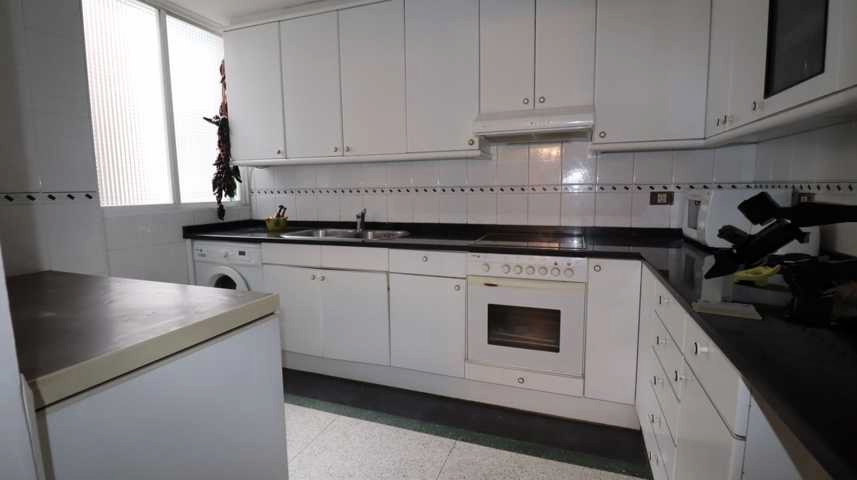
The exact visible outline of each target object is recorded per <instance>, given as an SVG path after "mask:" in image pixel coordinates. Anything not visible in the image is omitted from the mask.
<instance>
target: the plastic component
mask: <svg viewBox="0 0 857 480" xmlns="http://www.w3.org/2000/svg"><path fill="white" fill-rule="evenodd" d="M781 268H782V265H781V264H777V265H776V266H774V267H769V266H760V267H757V268H754V269H749V270H745V271H740V272H737V273H736V274H734V282H733V283H739V282H740V281H753V284H754V286H755V287H759V288H761V287H766V286H767V285H769V280H768V278H772V277H773V276H775V275H776V274H777V273H778V272H779V271H780V270H781ZM701 270H702V273H703V274H704V265H703V266H702V267H701Z"/></svg>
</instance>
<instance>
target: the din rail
mask: <svg viewBox="0 0 857 480" xmlns="http://www.w3.org/2000/svg"><path fill="white" fill-rule="evenodd" d="M691 305H692V307H693V310H694V312H696V313H705V314H713V315H720V316H721V315H722V316H727V317H737V318H742V319H743V318H745V319H752V320H762V319H763V317H762V316H761V315H760V314H759V312H758V311H757V310H756V307H755V306H754V305H753V304H748V303H747V304H745V303H737V302H729V301H722V302H720V301H711V300H702V299H701V298H698V299H697V302H695V301H694V302H693V301H692V302H691Z"/></svg>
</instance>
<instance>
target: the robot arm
mask: <svg viewBox="0 0 857 480" xmlns="http://www.w3.org/2000/svg"><path fill="white" fill-rule="evenodd" d="M736 208H737V210H738V211H739V212H740V213H741V214H742V215H743V216H744V217H745V218H746V219H747V221H749V222H750V223H751V224H752V225H753V226H758V225H759V226H761V227H764V226H765V227H764V228H762V229H761V230H759V231H757V232H756V233H751V234H750V233H748V232H746V231H744V230H743V229H740V228H738V227H736V226H734V225H732V224H724V225H722V226H721V228H719V229H718V230H717V232H718V233H717V234H716V237H717V238H719V239H722V240H724V241H726V242H728V243H730V244H731V246H730V247H731V248H726V247H724V248H720V249H718V250H716V251H714V253H712V256H714V259H715V263H714V265H713V266H712V267H711V268H710V269H709V270H708V272H707V273H706V274H705V275H704V278H705V279H706V280H707V279H712V278H717V277H722V276H727V275H732V274H736V273H737V272H740V271H745V270H749V269H754V268H757V267H763V266H764V265H766V264H767V263H769V256H770V255H774V254H776V253H778V252H779V250H781V249H783V248H784V247H786V246H787V245H789V244H790V243H792V242H794V241H795V240H796V241H797V242H798V243H799V244H801V245H803V244H809V243H810V237H811V231H803V230H802V228H812V227H819V226H829V225H835V224H844V223H857V204H847V203H841V202H840V203H838V202H831V201H822V200H821V201H820V200H811V201H800V202H797V203H795V204H793V206H791V205H790V206H788V205H787V206H781V205H780V204H779V203H778V202H777V201H776V200H775V199H773V197H772V195H770V193H768V191H760V192H758V193H757V194H755V195H753V196H750V197H749V198H748V199H747V198H746V199H744V200H743V201H742V202H741V203H739V204H738V205H737V207H736ZM789 221H790V222H789ZM793 263H794V264H790V265H787V266H786V267H785V269H784V270H783V272H782V278H783V281H784V283H785V284H786V285H787V286H788V288H789V291H790V293H791V296H792V297H791V298H790V302H789V309H788V310H789V311H788V315H784V316H783V318H784V319H787V320H790V321H792V322H795V323H799V324H802V325H804V326H807V327H811V328H821V327H824V328H825V327H837V326H838V323H837V322H833V321H832V319H833V312H834V305H835V304H834V303H835V298H831V297H834V296H836V294H837V293H838V292H839V291H840V287H839V285H837V284H836V283H835V281H838V280H842V279H849V278H850V279H851V278H856V277H857V258H853V259H852V258H851V259H845V260H830V257H829V255H828V254H827V255H821V256H817V257H813V258H804V259H798V260H793Z"/></svg>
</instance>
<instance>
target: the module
mask: <svg viewBox="0 0 857 480" xmlns="http://www.w3.org/2000/svg"><path fill="white" fill-rule="evenodd" d="M714 263H715V259H714V256H713V255H708V256H705V257H704V265H703V266H704V273H703V276H702V286H701V287H702V288H701V295H700V297H701V298H700V299H702V300H711V301H720V302H729V303H732V300H733V299H732V297H733V291H734V283H735V282H734V274H732V275H727V276H722V277H717V278H712V279H707V280H706V279H705V278H704V275H705V274H706V273H707V272H708V270H709V269H710V268H711V267H712V266H713V265H714Z"/></svg>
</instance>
